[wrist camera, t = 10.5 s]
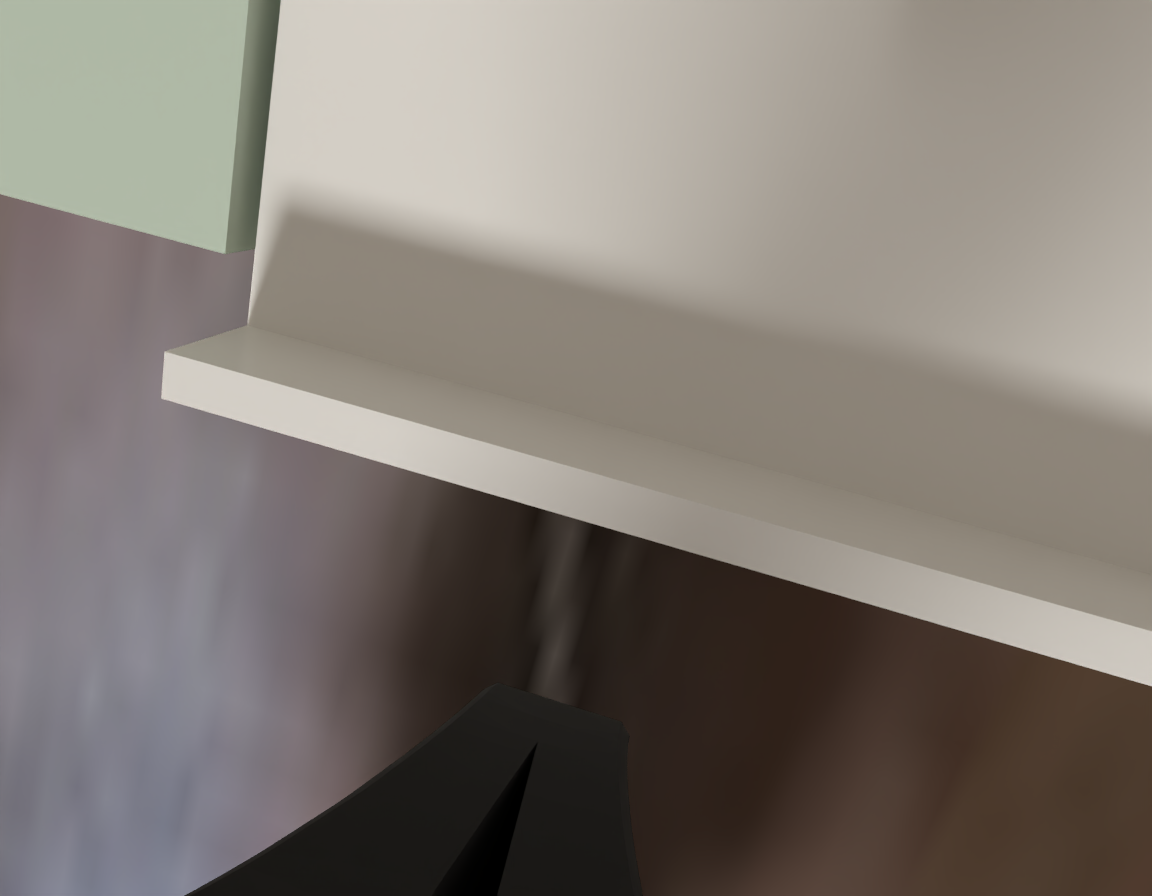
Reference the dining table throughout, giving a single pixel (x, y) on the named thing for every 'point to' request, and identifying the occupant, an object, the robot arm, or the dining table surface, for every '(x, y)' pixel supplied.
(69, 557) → the dining table surface
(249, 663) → the dining table surface
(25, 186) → the cover plate
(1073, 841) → the dining table surface
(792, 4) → the box
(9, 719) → the dining table surface
